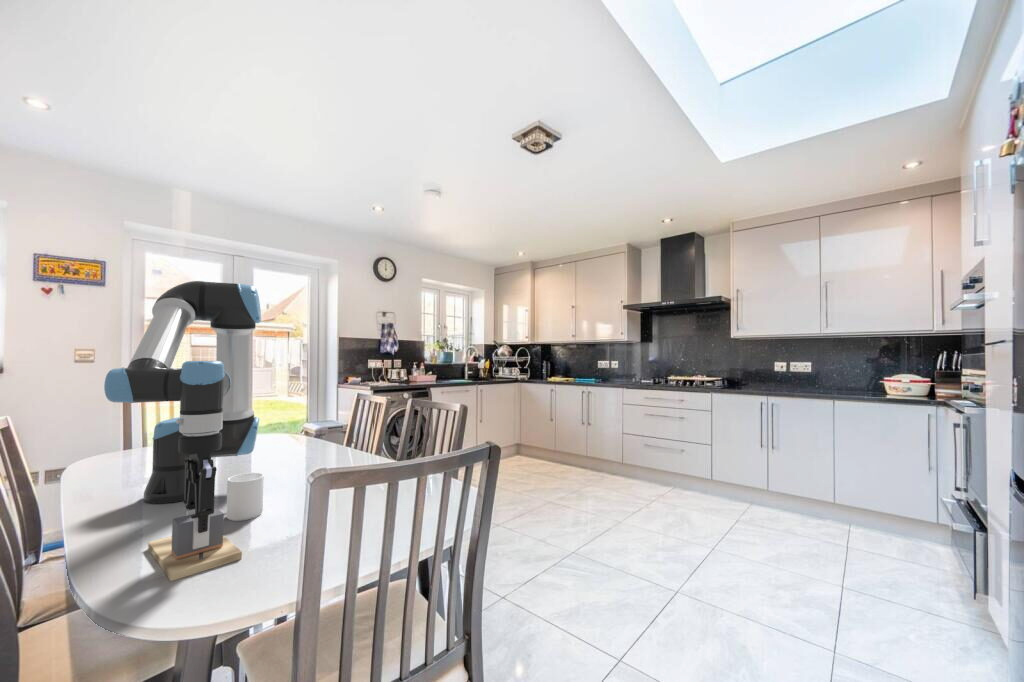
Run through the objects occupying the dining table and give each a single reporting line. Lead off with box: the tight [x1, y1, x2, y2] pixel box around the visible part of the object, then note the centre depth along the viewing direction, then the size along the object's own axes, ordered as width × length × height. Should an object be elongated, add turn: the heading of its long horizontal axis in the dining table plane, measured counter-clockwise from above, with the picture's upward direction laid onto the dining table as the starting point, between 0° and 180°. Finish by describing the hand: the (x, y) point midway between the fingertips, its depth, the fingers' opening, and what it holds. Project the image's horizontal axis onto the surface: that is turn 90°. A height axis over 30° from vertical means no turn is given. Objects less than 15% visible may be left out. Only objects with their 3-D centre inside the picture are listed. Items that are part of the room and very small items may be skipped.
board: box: [147, 535, 243, 582], centre depth 93 cm, size 20×12×2 cm, turn 50°
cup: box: [226, 472, 265, 522], centre depth 116 cm, size 8×12×10 cm
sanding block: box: [171, 508, 224, 559], centre depth 92 cm, size 4×8×7 cm, turn 140°
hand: (197, 542), depth 92 cm, fingers closed on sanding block, 4 cm apart
